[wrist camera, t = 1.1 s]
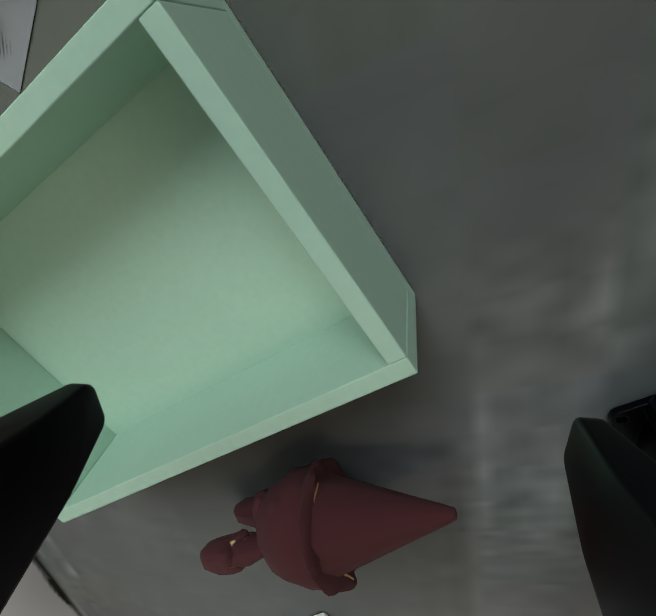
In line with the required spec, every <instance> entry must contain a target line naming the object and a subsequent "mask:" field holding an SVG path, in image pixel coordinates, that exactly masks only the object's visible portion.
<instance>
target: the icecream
mask: <svg viewBox="0 0 656 616" xmlns="http://www.w3.org/2000/svg"><path fill="white" fill-rule="evenodd" d="M234 514H235V516H236V518H237V520H238V522H239V523H242V524H245V525H248V526H251V527H255V528H256V532H249V533H248V531H247V530H246V529H242V530H240V531H239V532H236V533H234V534H229V535H226V536H222V537H219V538H216V539H214V540H212V541H210V542H209V543H208V544H207V545H206V546H205V547H204V548H203V549H202V551H201V553H200V559H201V562H202V564H203V567H204V569H205V570H207V571H210V572H212V573H215V574H218V575H229V574H235V573H238V572H241V571H242V570H243V568H244V567H247V566H250V565H252V564H254V563H255V562H257V561H259V560H260V559H262V558H264V559H265V561H266V562H267V564H268V565H269V567H270V569H271V570H272V572H273V573H275V574H276V575H278V576H279V577H281V578H282V579H284V580H285V581H288V582H291V583H293V584H296V585H299V586H302V587H305V588H308V589H311V590H322V591H323V592H324V593H325V594H326V595H328V596H333V595H336V594H337V593H339V592H344V591H350V590H352V589H354V588H355V586H356V584H357V579H356V576H355V574H354V571H355V570H356V569H357V568H359V567H361V566H363V565H365V564H367V563H369V562H371V561H373V560H376V559H378V558H380V557H382V556H384V555H386V554H388V553H390V552H392V551H394V550H396V549H398V548H400V547H402V546H404V545H406V544H409V543H411V542H413V541H415V540H417V539H419V538H421V537H423V536H425V535H427V534H429V533H431V532H433V531H436V530H438V529H440V528H442V527H444V526H446V525H448V524H450V523H451V522H453V521H455V520H457V512H456V509H455V508H454V507H451V506H448V505H445V504H441V503H437V502H434V501H430V500H426V499H422V498H418V497H414V496H411V495H407V494H404V493H400V492H397V491H393V490H390V489H386V488H383V487H379V486H375V485H372V484H368V483H365V482H361V481H358V480H354V479H351V478H347V477H346V476H345V475H344V474H343V473H342V471H341V469H340V467H339V465H338V464H337V462H336V461H335V460H334V459H332V458H327V459H323V460H314V461H313V462H312V464H311V465H310V466H306V467H302V468H292V469H291V470H290V471H289V472H288V473H287V475H286V476H285V477H284V478H282V479H281V480H279V481H278V482H277V483H275V484H274V485H273V486H271V487H270V489H264V490H262V491H260V492H258V493H256V497H250V498H246V499H244V500H242V501H240V502H239V503H238V504H237V505H236V507H235V508H234Z"/></svg>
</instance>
